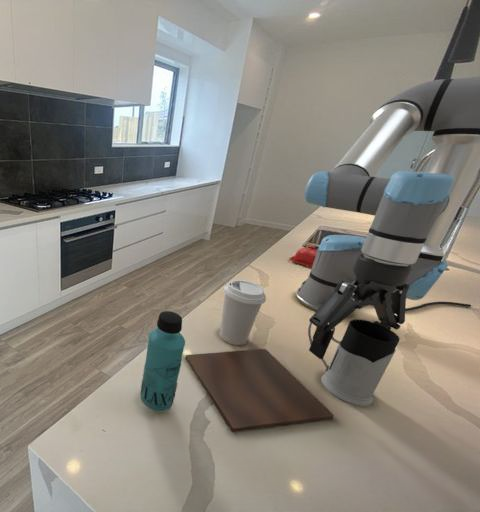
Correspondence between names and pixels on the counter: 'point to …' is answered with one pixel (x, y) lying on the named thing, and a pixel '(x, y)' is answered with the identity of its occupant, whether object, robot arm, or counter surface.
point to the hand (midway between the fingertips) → (343, 352)
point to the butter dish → (305, 256)
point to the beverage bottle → (163, 362)
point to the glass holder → (359, 361)
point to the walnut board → (255, 390)
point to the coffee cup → (240, 310)
